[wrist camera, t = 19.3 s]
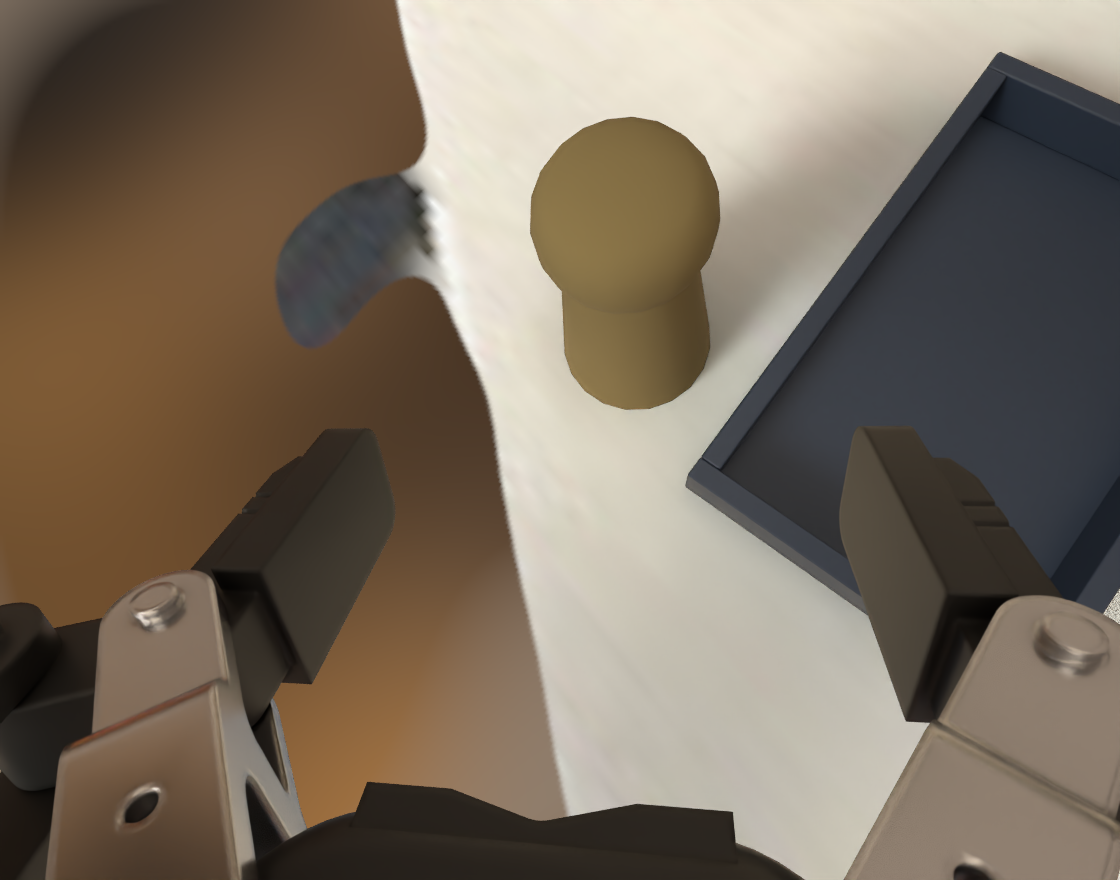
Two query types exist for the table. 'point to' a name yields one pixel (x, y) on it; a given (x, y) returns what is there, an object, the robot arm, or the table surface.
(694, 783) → the table surface
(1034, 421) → the pan
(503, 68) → the table surface
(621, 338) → the cork
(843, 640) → the table surface
